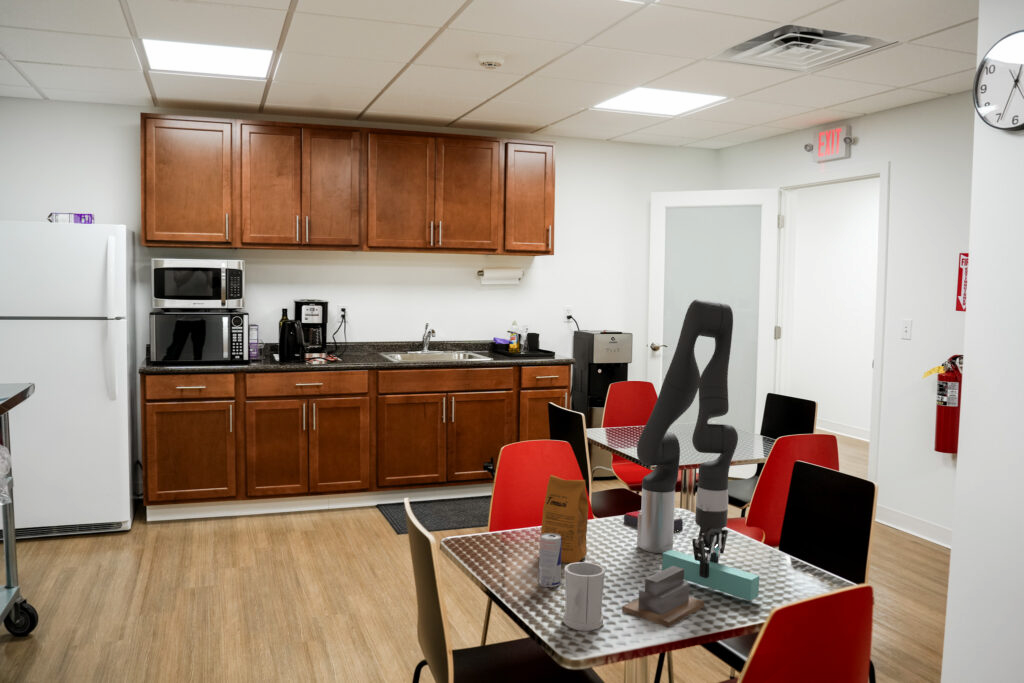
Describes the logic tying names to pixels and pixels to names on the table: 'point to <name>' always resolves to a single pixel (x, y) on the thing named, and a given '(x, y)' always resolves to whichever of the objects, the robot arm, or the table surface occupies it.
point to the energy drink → (550, 560)
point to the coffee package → (567, 516)
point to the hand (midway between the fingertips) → (708, 574)
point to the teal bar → (714, 575)
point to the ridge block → (664, 598)
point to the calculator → (633, 520)
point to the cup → (583, 596)
